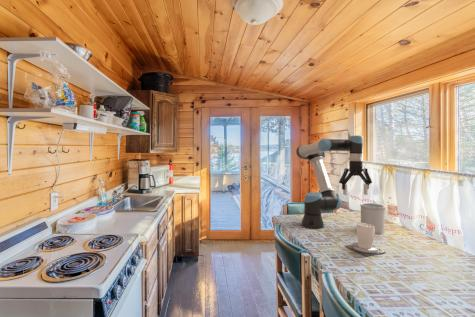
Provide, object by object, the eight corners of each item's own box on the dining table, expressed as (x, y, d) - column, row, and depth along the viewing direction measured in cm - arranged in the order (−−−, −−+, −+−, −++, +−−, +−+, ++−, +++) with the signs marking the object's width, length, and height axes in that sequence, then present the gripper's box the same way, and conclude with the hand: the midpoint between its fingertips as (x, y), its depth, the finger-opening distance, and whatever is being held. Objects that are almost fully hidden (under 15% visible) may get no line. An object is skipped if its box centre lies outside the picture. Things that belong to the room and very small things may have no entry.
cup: (373, 245, 137) (374, 223, 136) (374, 251, 129) (375, 228, 128) (355, 242, 141) (356, 221, 140) (355, 248, 133) (356, 226, 132)
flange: (345, 246, 139) (345, 243, 139) (363, 243, 144) (363, 240, 144) (365, 256, 126) (366, 253, 126) (385, 252, 130) (385, 250, 130)
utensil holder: (380, 235, 157) (380, 208, 156) (356, 229, 168) (356, 204, 167) (388, 230, 167) (388, 205, 166) (365, 225, 178) (365, 201, 177)
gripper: (339, 160, 147) (339, 196, 148) (379, 160, 150) (378, 195, 151) (333, 160, 155) (333, 193, 156) (371, 160, 157) (370, 193, 158)
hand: (355, 194), depth 153 cm, fingers open, 13 cm apart
